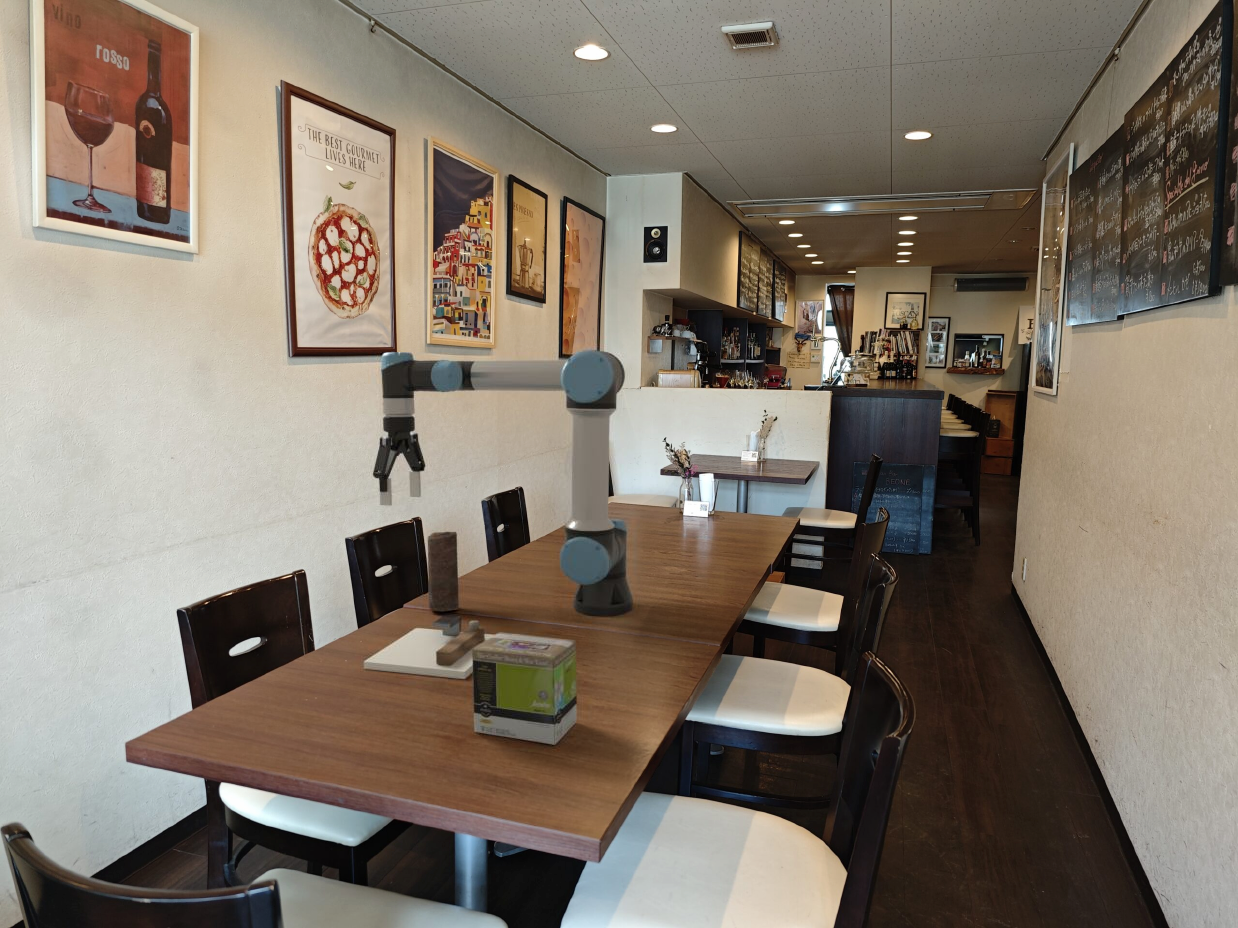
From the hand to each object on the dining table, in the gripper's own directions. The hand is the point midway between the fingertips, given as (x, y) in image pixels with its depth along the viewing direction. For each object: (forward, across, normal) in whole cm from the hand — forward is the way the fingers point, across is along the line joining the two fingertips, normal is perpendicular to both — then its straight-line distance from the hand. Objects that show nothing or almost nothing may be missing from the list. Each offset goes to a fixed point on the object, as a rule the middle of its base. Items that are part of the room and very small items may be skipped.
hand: (401, 500), depth 198 cm
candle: (+28, -2, +10) cm, 30 cm away
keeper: (+26, +21, +23) cm, 41 cm away
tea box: (+28, +54, +56) cm, 82 cm away
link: (+26, +27, +30) cm, 48 cm away
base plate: (+28, +27, +24) cm, 46 cm away
